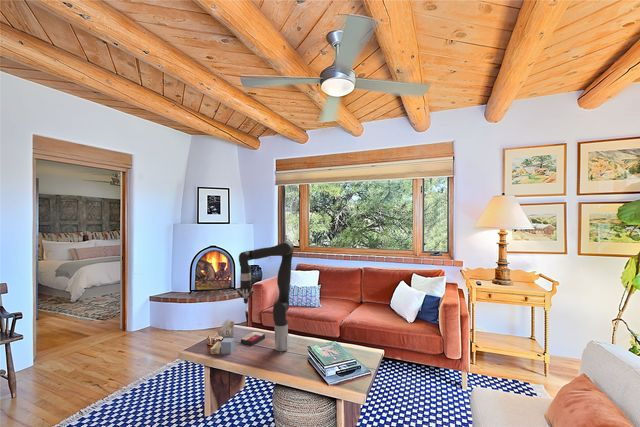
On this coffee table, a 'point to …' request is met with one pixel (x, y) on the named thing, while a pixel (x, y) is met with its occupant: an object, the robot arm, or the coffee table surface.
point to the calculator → (253, 338)
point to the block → (227, 345)
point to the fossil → (227, 329)
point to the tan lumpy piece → (216, 348)
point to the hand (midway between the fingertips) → (246, 303)
